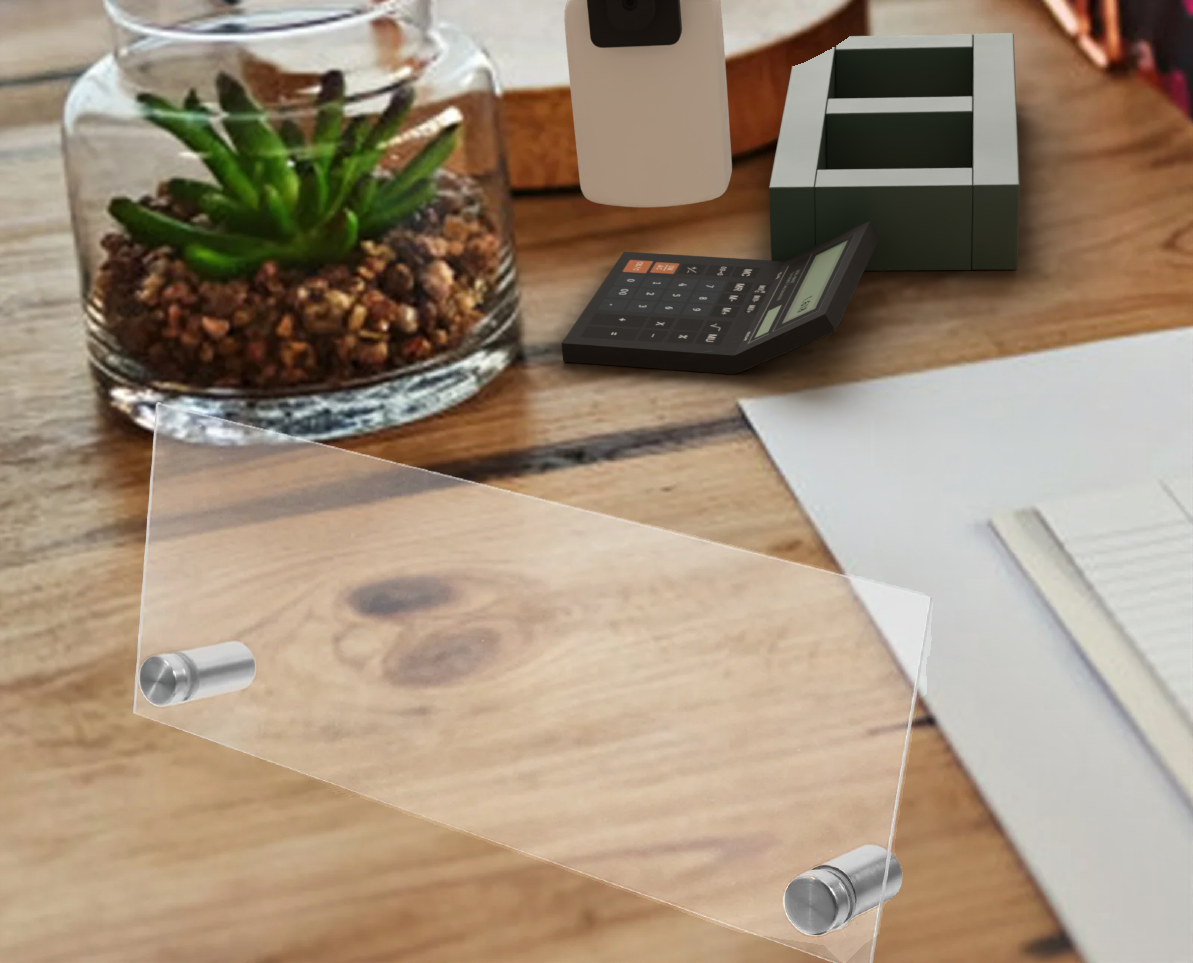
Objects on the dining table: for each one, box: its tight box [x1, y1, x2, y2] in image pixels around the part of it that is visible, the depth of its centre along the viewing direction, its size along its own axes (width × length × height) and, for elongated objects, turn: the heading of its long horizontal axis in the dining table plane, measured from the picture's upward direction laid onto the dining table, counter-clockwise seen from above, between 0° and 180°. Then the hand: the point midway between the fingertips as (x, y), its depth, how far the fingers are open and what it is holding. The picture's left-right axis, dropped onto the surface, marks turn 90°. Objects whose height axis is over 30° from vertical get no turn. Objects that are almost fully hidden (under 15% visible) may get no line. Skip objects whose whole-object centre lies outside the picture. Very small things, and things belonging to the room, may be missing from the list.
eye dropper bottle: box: [563, 0, 733, 208], centre depth 84 cm, size 4×6×12 cm
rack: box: [768, 32, 1021, 272], centre depth 110 cm, size 11×20×4 cm, turn 172°
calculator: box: [561, 221, 880, 375], centre depth 99 cm, size 9×12×3 cm
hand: (643, 18), depth 84 cm, fingers closed on eye dropper bottle, 3 cm apart
